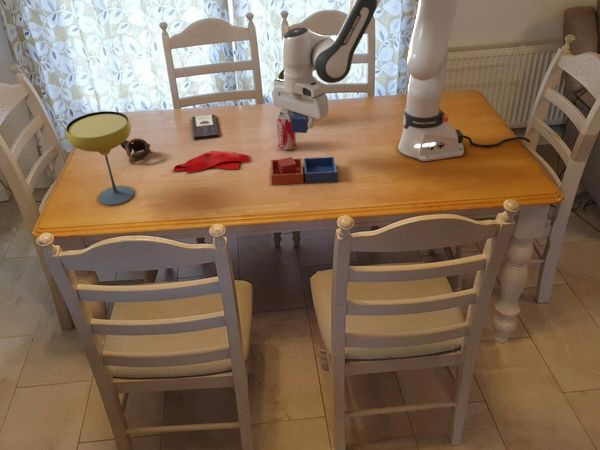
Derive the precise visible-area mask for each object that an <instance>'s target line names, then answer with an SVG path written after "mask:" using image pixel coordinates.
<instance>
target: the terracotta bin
mask: <svg viewBox="0 0 600 450" xmlns="http://www.w3.org/2000/svg"><path fill="white" fill-rule="evenodd" d="M302 159H303V158H302V157H301V158H300V157H299V158H293V160H294V162H295V163H296V173H294V174H279V171H278V160H279V159H271V160H270V178H271V186H274V185H275V186H277V185H295V184H304V182H305V181H304V166H303V160H302Z"/></svg>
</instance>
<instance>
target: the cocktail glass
mask: <svg viewBox="0 0 600 450" xmlns="http://www.w3.org/2000/svg"><path fill="white" fill-rule="evenodd" d="M131 132H132V125H131V121H130V118H129V117H128V116H127V115H126V114H125V113H122V112H118V111H110V110H108V111H107V110H106V111H105V110H104V111H95V112H90V113H87V114H84V115H81V116H78V117H77V118H76V117H75V118H73V120H71V121H70V122H69V123H68V124H67V125H66V127H65V134H66V137H67V138H66V139H67V141H68V142H69V144H71V146H73V147H75V149H79V150H82V151H84V152H92V153H93V152H95V153H99V154H100V155H102V156H104V158H105V161H106V165H107V169H108V174H109V176H110V181H111V186H112V187H109V188H107V189H106V190H104V191H101V193H100V194H99V196H98V201H99V202H100V203H101V204H102V205H105V206H118V205H123V204H126V203H127V202H129V201H130V200H132V198H134V195H135V192H134V190H133V188H131V187H128V186H125V185H124V186H121V185H119V186H116V183H115V180H114V177H113V173H112V168H111V165H110V162H109V158H108V155H109V154H110V153H111V150H112V149H114V148H116V147H118V146H121V145H120V144H122V143H123V142H124V141H125V140H128V138H129V137H130V135H131Z"/></svg>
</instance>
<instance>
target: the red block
mask: <svg viewBox="0 0 600 450" xmlns="http://www.w3.org/2000/svg"><path fill="white" fill-rule="evenodd" d="M293 159H294V158H293V157H292V156H290V157H285V158H278V159H277V160H278V171H279V174H294V173H296V163H295V162H294V160H293Z"/></svg>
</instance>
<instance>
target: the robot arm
mask: <svg viewBox="0 0 600 450" xmlns="http://www.w3.org/2000/svg"><path fill="white" fill-rule="evenodd" d="M348 1H349V2H348V3H349V7H348V13H347V16H346V18H345V20H344V22H343V24H342V26H341V28H340V30H339V32H338V34H337V36H336V37H335V38H334V37H332V36H330V35H323V34H318V33H316V32H314V31H311V30H310V29H309V28H307V27H299V26H298V27H294V28H292V29H290V30H288V31H287V32H285V34H284V35H283V38H282V49H281V51H282V54H281V55H282V63H283V69H284V67H285V69H284V79H281V78H278V77H276V78H274V80H273V90H272V103H273V105H274V106H275V107H277V108H279V109H280V108H283V109H285V113H286V115H287V117H288V122H291V117H292V116H293V114H292V112H291V111H293V112H296V113H300V114H303V115H306V116H308V119H309V121H308V122H307V123H306V127H307V128H308V129H309V130H311V129H312V128H314V122H315V120H319V121H320V120H323V119H324V118H326V117H327V116H328V115H329V99H328V95H327V93H326V92H327V88H328V87H327V85H326V83H328V84H337V83H339V82H342V81H343V80H344V79H346V77H347V76H348V75H349V73H350V71H351V68H352V64H353V57H354V55H355V52H356V49H358V46H359V44H360V42H361V40H362V38H363V36H364V34H365V33H366V31H367V29H368V27H369V25H370V23H371V21H372V19H373V17H374V15H375V13H376V10H377V8H378V6H379V5H380V2H381V1H382V0H348ZM457 5H458V0H419V1H418V6H417V12H416V18H415V22H414V27H413V31H412V35H411V39H410V43H409V49H408V53H407V54H408V55H407V61H406V64H407V65H406V66H407V71H408V73H409V78H408V79H409V80H408V85H407V90H406V91H407V93H406V103H405V109H404V113H403V119H402V122H403V123H402V125H403V128H402V132H401V133H402V134H401V137H400V140H399V143H398V145H397V149H398V151H399V152H400V153H401V154H403V155H404V156H407V157H409V158H414V159H416V160H419V161H421V162H431V161H436V160H444V159H449V158H457V157H462V156H463V155H464V153H465V147H464V144H463V142H464V139H466V140H468V142H469V144H470V145H471V146H474V147H480V148H491V147H492V148H493V147H497V146H500V145H502V144H503V143H505V142H509V141H516V140H523V141H526V142H527V143H532V142H531V140H530V139H529V138H527V137H524V136H515V137H509V138H505V139H502V140H500V141H499V142H496V143H492V144H478V143H475V142H473V141H472V138H471V137H469V136H468V135H464V134H463V133H462V131H461V130H460V129H456V128H454V127H453V126H452V125H451V124H449V123H448V122H449V117H448V115H447V114H446V113H445V112H444V111H443V110H442V109H441V101H442V100H441V99H442V92H443V86H444V80H445V74H446V68H447V62H448V55H449V48H450V47H449V40H450V36H451V31H452V28H453V25H454V24H453V23H454V20H455V13H456V10H457ZM314 71H316V75H317V76H318V78H319V79H318V78H317V77H315V76H314ZM324 82H325V83H324Z"/></svg>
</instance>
